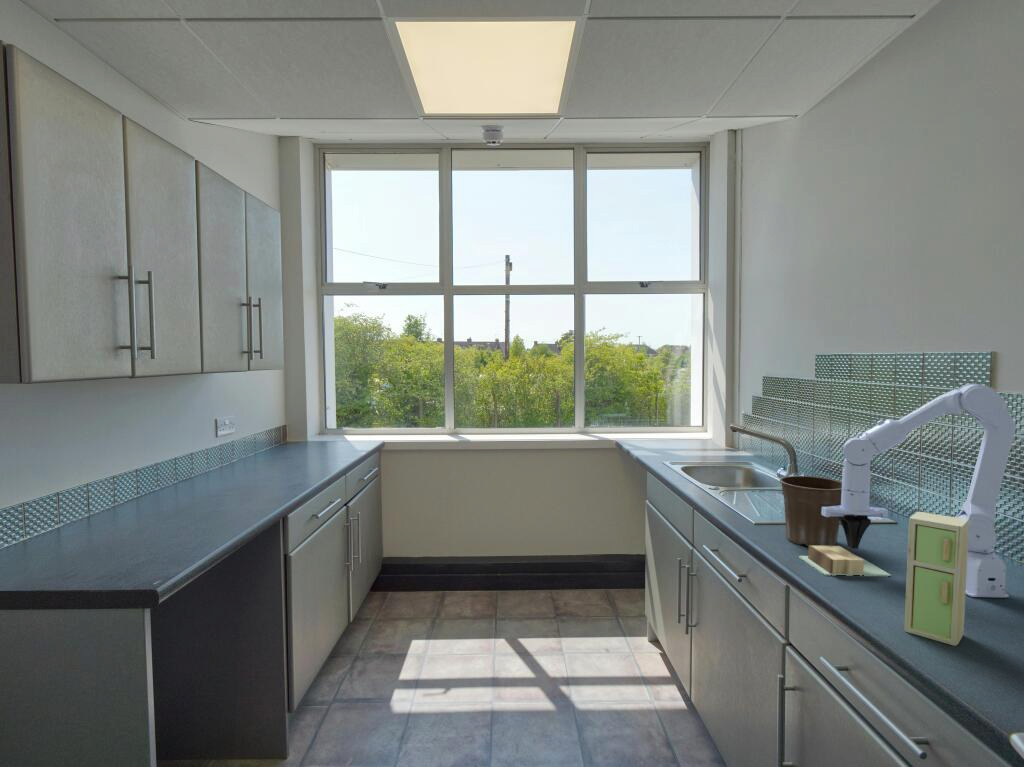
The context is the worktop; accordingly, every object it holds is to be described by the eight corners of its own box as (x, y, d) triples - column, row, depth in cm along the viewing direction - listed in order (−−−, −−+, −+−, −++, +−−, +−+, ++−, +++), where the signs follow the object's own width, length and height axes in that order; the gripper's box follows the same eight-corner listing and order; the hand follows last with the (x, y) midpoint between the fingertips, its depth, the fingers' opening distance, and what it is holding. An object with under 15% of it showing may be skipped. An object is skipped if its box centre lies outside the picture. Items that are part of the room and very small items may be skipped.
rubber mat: (890, 576, 136) (890, 574, 136) (824, 575, 136) (824, 573, 136) (859, 558, 148) (859, 556, 148) (798, 557, 148) (798, 555, 148)
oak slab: (863, 560, 136) (831, 559, 136) (863, 574, 136) (830, 573, 136) (839, 545, 146) (808, 545, 146) (838, 558, 146) (808, 558, 146)
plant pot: (803, 552, 151) (806, 489, 151) (764, 533, 167) (767, 476, 166) (859, 549, 155) (863, 487, 154) (816, 531, 170) (819, 475, 170)
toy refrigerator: (901, 632, 108) (907, 517, 107) (911, 620, 113) (917, 510, 112) (955, 648, 102) (963, 527, 101) (963, 635, 108) (970, 519, 107)
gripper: (875, 486, 144) (872, 542, 145) (815, 485, 144) (813, 541, 145) (895, 493, 137) (891, 551, 138) (831, 492, 137) (828, 550, 137)
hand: (852, 547), depth 141 cm, fingers closed
